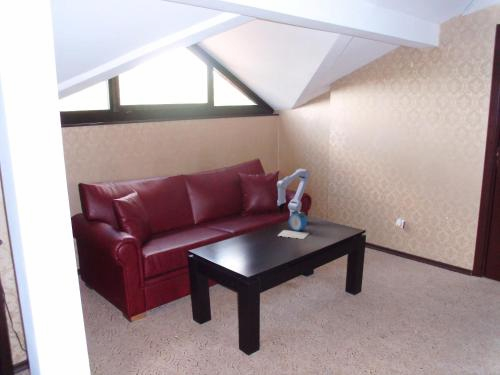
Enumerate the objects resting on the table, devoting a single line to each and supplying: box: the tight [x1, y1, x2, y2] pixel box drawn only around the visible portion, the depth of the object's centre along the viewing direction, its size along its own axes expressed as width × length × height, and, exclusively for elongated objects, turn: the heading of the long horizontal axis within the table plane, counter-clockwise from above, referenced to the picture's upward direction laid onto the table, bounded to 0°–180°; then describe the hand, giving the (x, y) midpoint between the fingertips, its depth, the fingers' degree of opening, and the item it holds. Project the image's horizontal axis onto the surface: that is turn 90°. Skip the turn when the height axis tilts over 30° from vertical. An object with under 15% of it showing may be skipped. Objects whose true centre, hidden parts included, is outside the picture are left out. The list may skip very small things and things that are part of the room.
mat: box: [277, 229, 310, 240], centre depth 301 cm, size 14×20×1 cm
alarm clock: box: [288, 210, 308, 232], centre depth 310 cm, size 13×6×15 cm, turn 43°
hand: (281, 212), depth 323 cm, fingers closed
